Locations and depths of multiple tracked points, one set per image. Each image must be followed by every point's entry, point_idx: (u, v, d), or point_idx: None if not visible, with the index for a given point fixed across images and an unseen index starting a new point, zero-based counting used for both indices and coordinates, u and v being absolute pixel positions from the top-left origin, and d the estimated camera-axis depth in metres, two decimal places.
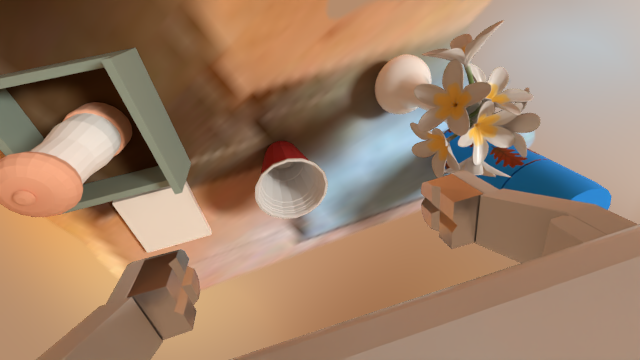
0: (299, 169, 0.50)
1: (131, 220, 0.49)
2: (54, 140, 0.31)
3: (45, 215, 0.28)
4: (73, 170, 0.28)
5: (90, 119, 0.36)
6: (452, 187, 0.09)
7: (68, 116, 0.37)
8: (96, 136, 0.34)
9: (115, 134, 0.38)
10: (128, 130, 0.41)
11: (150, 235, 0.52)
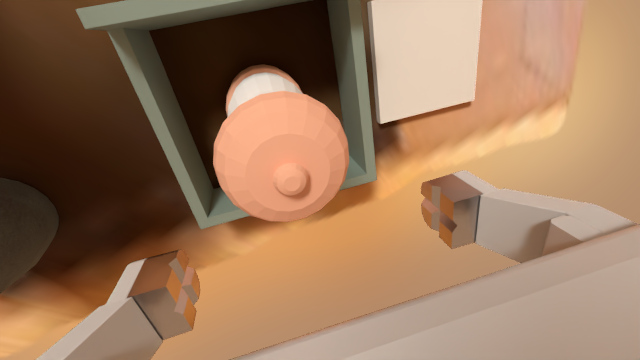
0: None
1: (414, 107, 0.32)
2: None
3: (341, 164, 0.14)
4: (257, 96, 0.14)
5: None
6: (452, 187, 0.09)
7: None
8: (246, 87, 0.20)
9: (259, 74, 0.23)
10: (265, 65, 0.26)
11: (447, 87, 0.32)
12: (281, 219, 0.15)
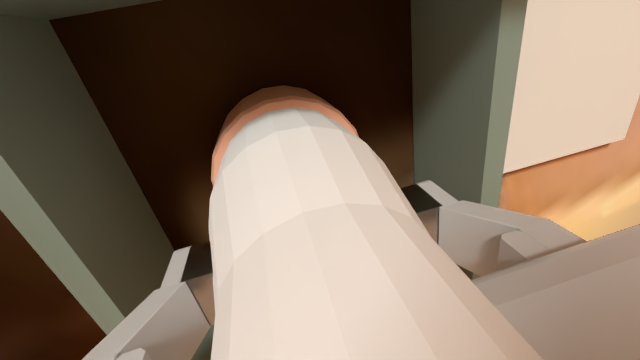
0: None
1: (533, 152, 0.19)
2: None
3: None
4: None
5: (219, 172, 0.10)
6: (413, 198, 0.09)
7: None
8: (254, 168, 0.08)
9: (282, 115, 0.11)
10: (290, 90, 0.13)
11: (590, 119, 0.19)
12: None
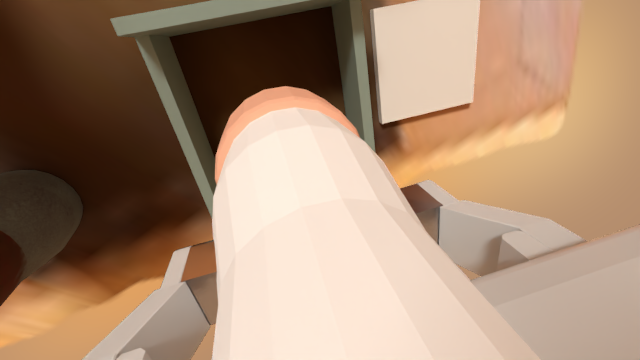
0: None
1: (414, 108, 0.34)
2: None
3: None
4: None
5: (222, 171, 0.10)
6: (414, 198, 0.09)
7: None
8: (255, 166, 0.08)
9: (283, 115, 0.11)
10: (291, 90, 0.14)
11: (446, 89, 0.34)
12: None
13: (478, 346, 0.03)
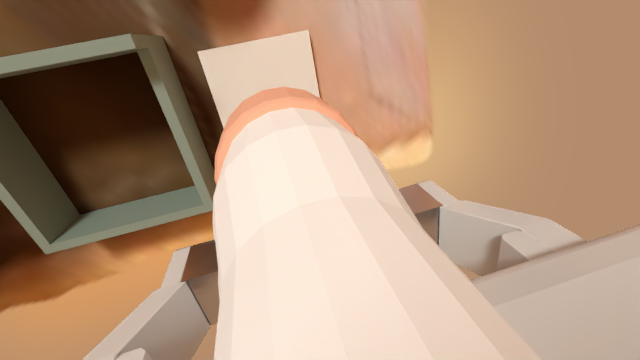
0: None
1: None
2: None
3: None
4: None
5: (221, 171, 0.11)
6: (414, 198, 0.09)
7: None
8: (254, 165, 0.08)
9: (281, 115, 0.11)
10: (289, 91, 0.14)
11: None
12: None
13: (469, 334, 0.03)
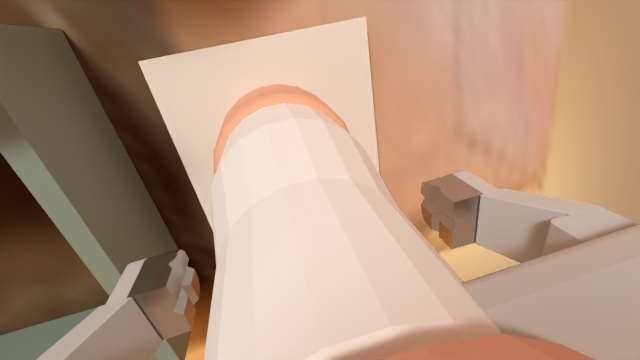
0: None
1: None
2: None
3: None
4: None
5: (219, 164, 0.11)
6: (452, 187, 0.09)
7: None
8: (246, 155, 0.09)
9: (273, 110, 0.12)
10: (282, 87, 0.15)
11: None
12: None
13: (409, 277, 0.04)
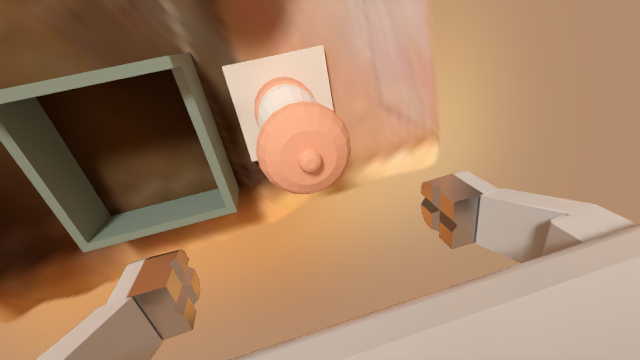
0: None
1: None
2: None
3: (345, 150, 0.20)
4: (285, 106, 0.20)
5: (259, 106, 0.30)
6: (452, 187, 0.09)
7: None
8: (272, 97, 0.27)
9: (280, 85, 0.30)
10: (284, 77, 0.33)
11: None
12: (304, 191, 0.21)
13: None
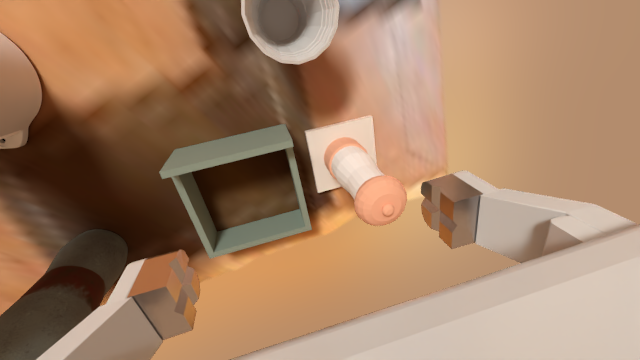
0: None
1: None
2: (348, 186, 0.41)
3: (405, 202, 0.36)
4: (372, 178, 0.36)
5: (336, 162, 0.45)
6: (452, 187, 0.09)
7: (333, 176, 0.48)
8: (349, 160, 0.43)
9: (349, 148, 0.45)
10: (347, 139, 0.48)
11: None
12: (380, 224, 0.37)
13: (379, 174, 0.38)
